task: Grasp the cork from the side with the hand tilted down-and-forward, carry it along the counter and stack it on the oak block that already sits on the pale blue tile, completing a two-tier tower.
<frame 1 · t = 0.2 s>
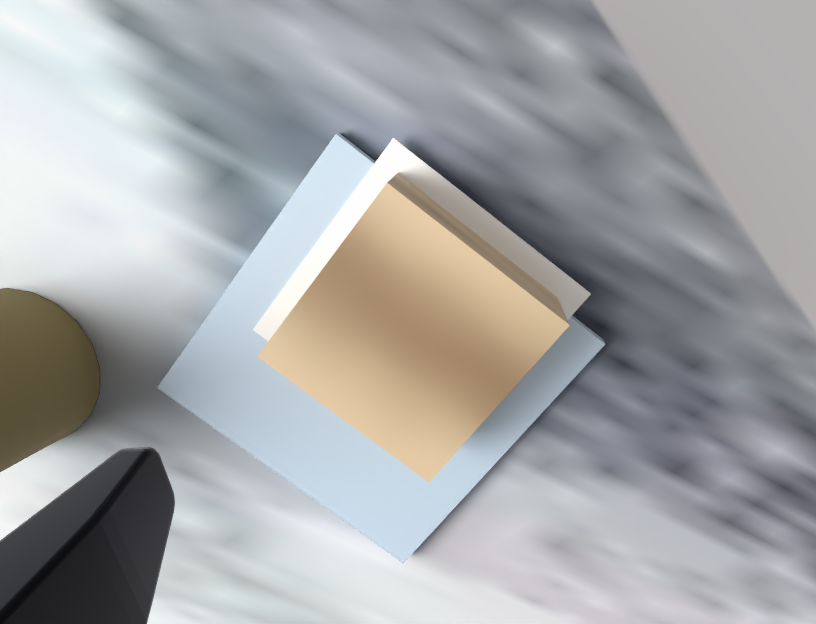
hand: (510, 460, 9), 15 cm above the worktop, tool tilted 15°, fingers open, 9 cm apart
oak block: (416, 312, 24), point 1 cm above the worktop, touching pale blue tile
pale blue tile: (374, 360, 25), on the worktop
cork: (24, 365, 26), on the worktop
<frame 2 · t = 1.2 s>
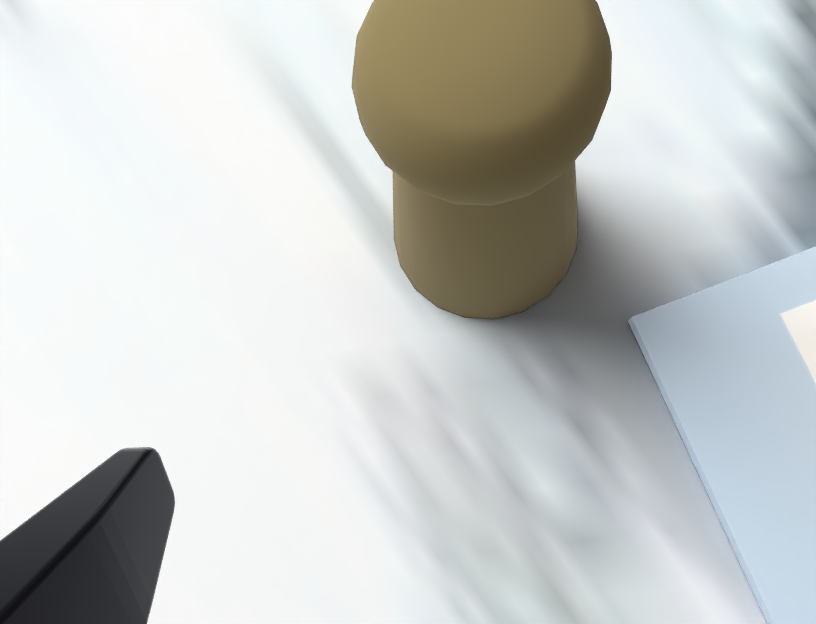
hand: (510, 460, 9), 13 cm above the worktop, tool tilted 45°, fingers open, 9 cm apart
cork: (484, 231, 24), on the worktop
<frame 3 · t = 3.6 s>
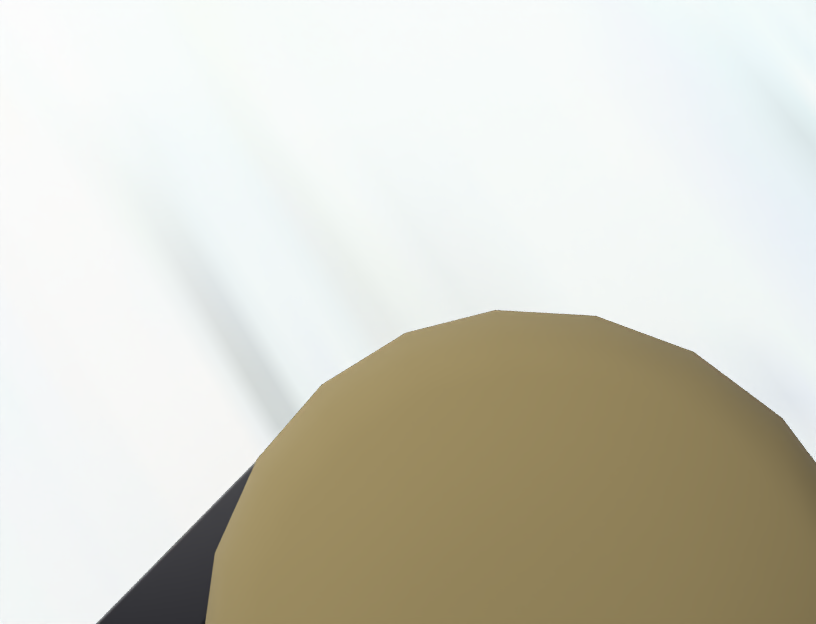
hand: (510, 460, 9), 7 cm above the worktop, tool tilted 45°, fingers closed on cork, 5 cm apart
cork: (506, 535, 15), on the worktop, touching gripper
when the fingers open (11 cm above the worktop, at t = 6.4 s): cork stays where it is, resting on oak block.
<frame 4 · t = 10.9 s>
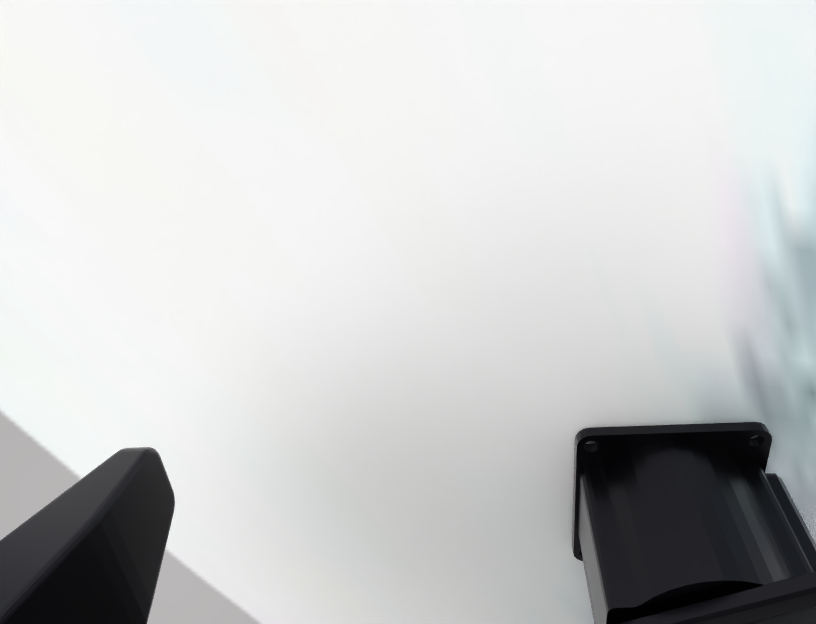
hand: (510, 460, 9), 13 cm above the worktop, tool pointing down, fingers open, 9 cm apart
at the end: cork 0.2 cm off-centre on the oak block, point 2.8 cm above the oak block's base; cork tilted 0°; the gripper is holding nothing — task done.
